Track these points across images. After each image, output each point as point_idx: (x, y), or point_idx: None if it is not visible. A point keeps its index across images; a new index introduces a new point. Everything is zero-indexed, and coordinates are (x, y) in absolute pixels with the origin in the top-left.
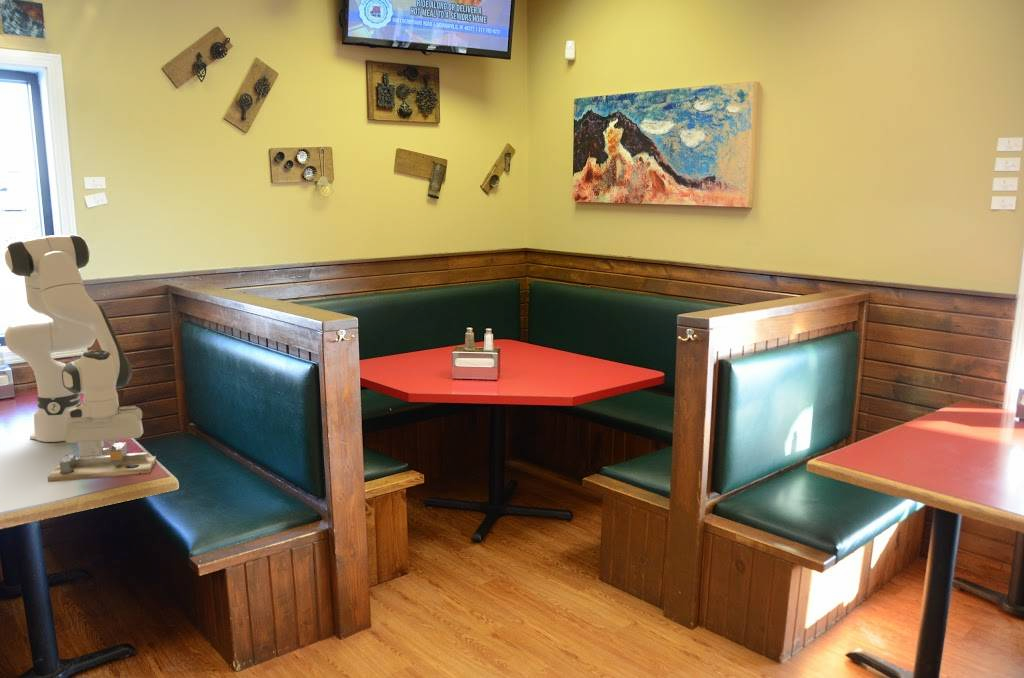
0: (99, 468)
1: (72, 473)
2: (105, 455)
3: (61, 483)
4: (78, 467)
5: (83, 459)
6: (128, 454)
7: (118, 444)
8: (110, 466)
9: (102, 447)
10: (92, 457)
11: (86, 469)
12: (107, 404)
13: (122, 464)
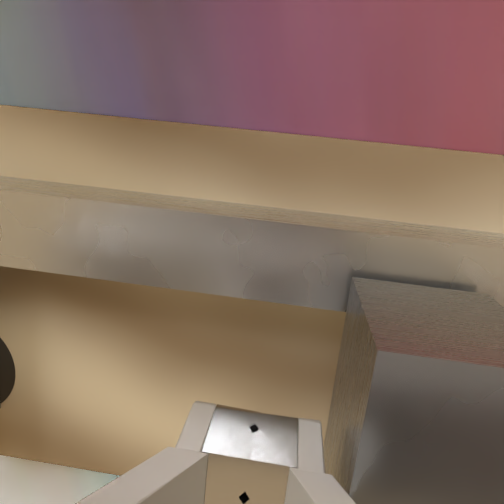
0: (206, 383)
1: (21, 423)
2: (227, 220)
3: (3, 486)
4: (22, 282)
5: (18, 264)
6: (497, 286)
7: (439, 470)
8: (293, 365)
9: (194, 480)
10: (96, 246)
11: (104, 367)
12: None
13: None
